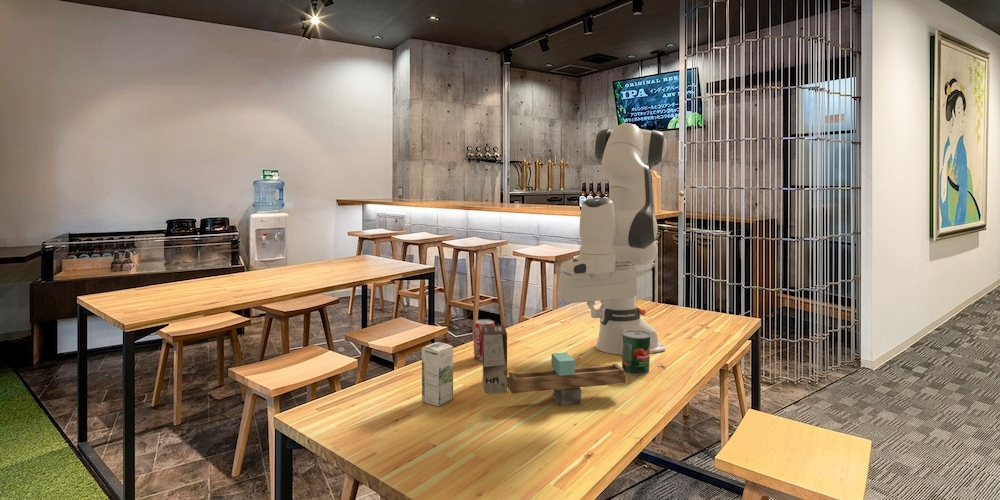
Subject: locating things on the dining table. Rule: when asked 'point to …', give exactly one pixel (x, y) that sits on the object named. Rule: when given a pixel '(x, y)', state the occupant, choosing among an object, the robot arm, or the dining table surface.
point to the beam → (566, 382)
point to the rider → (563, 364)
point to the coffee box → (494, 358)
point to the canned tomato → (636, 352)
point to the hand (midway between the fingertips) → (597, 317)
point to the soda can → (480, 336)
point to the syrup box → (437, 373)
